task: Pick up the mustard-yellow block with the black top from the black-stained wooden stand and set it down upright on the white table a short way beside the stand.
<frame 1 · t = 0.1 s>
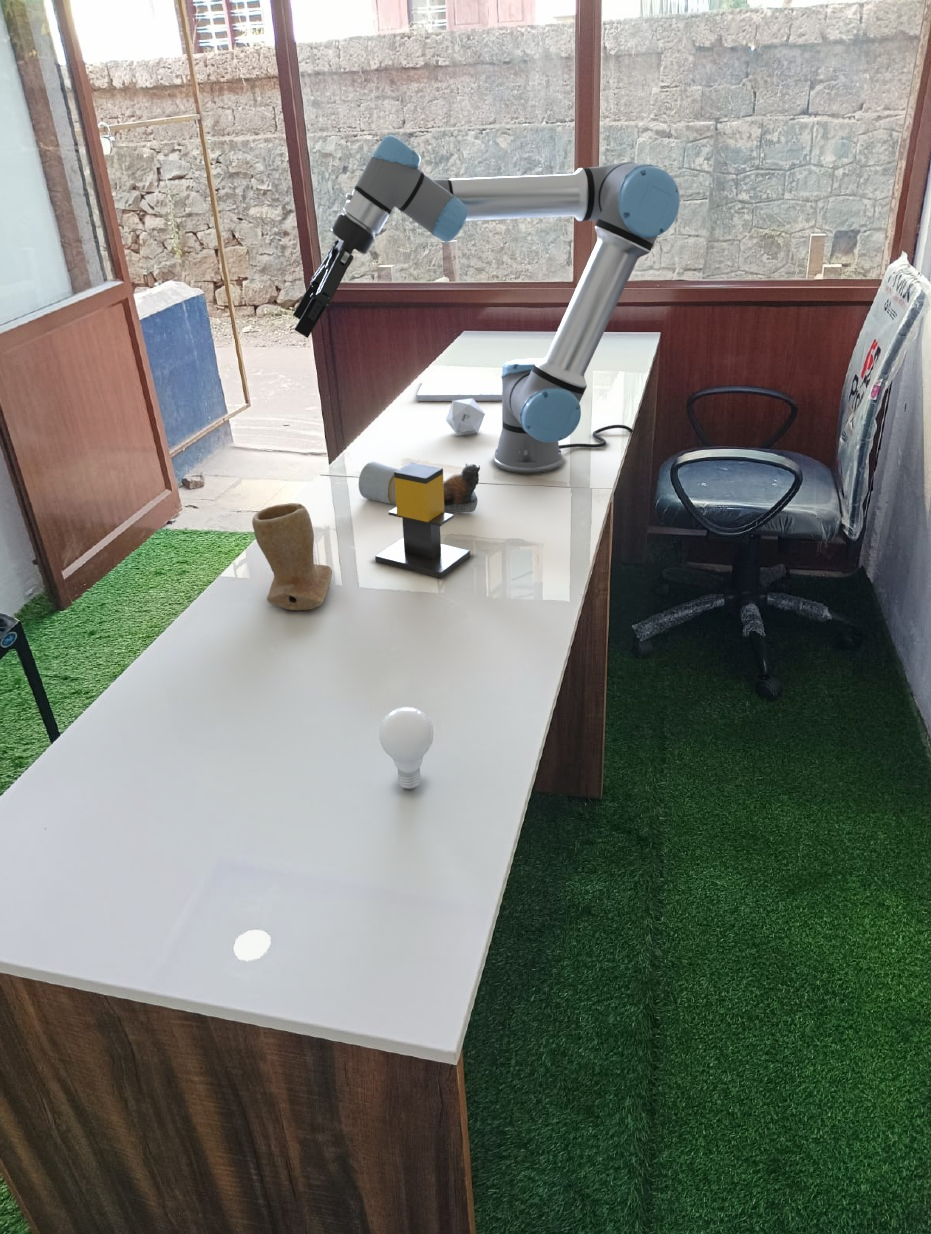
hand: (299, 326, 172), 36 cm above the table, tool tilted 35°, fingers open, 13 cm apart
computer keyboard: (495, 392, 258), on the table
block: (420, 513, 161), point 9 cm above the table, touching stand
stand: (423, 559, 166), on the table
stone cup: (296, 594, 155), on the table
brown animal-shaped figure: (452, 511, 185), on the table
die: (465, 433, 227), on the table
lightbulb: (410, 786, 111), on the table
ceramic mug: (388, 499, 191), on the table
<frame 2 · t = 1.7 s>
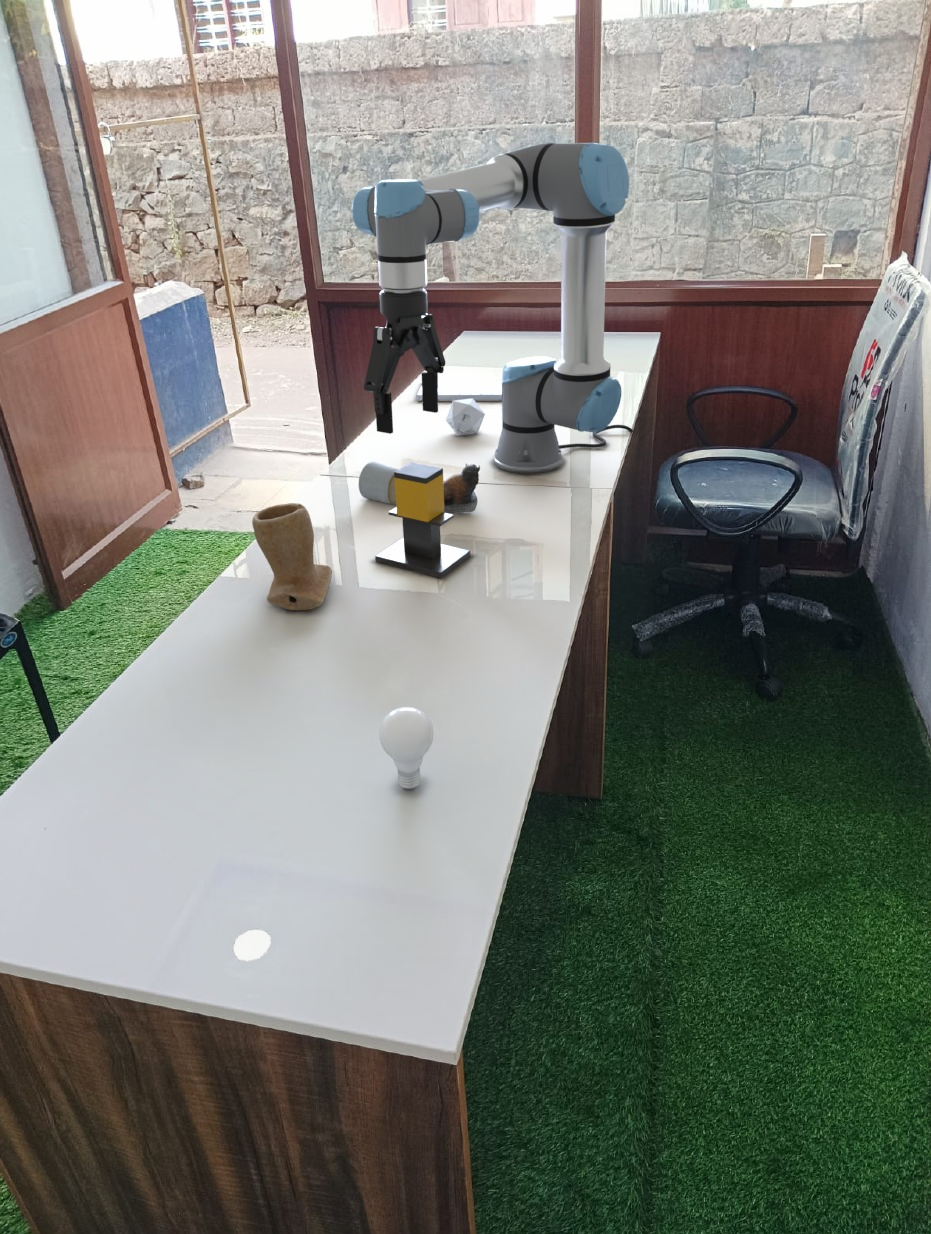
hand: (408, 421, 154), 25 cm above the table, tool pointing down, fingers open, 13 cm apart
nothing on the table moved.
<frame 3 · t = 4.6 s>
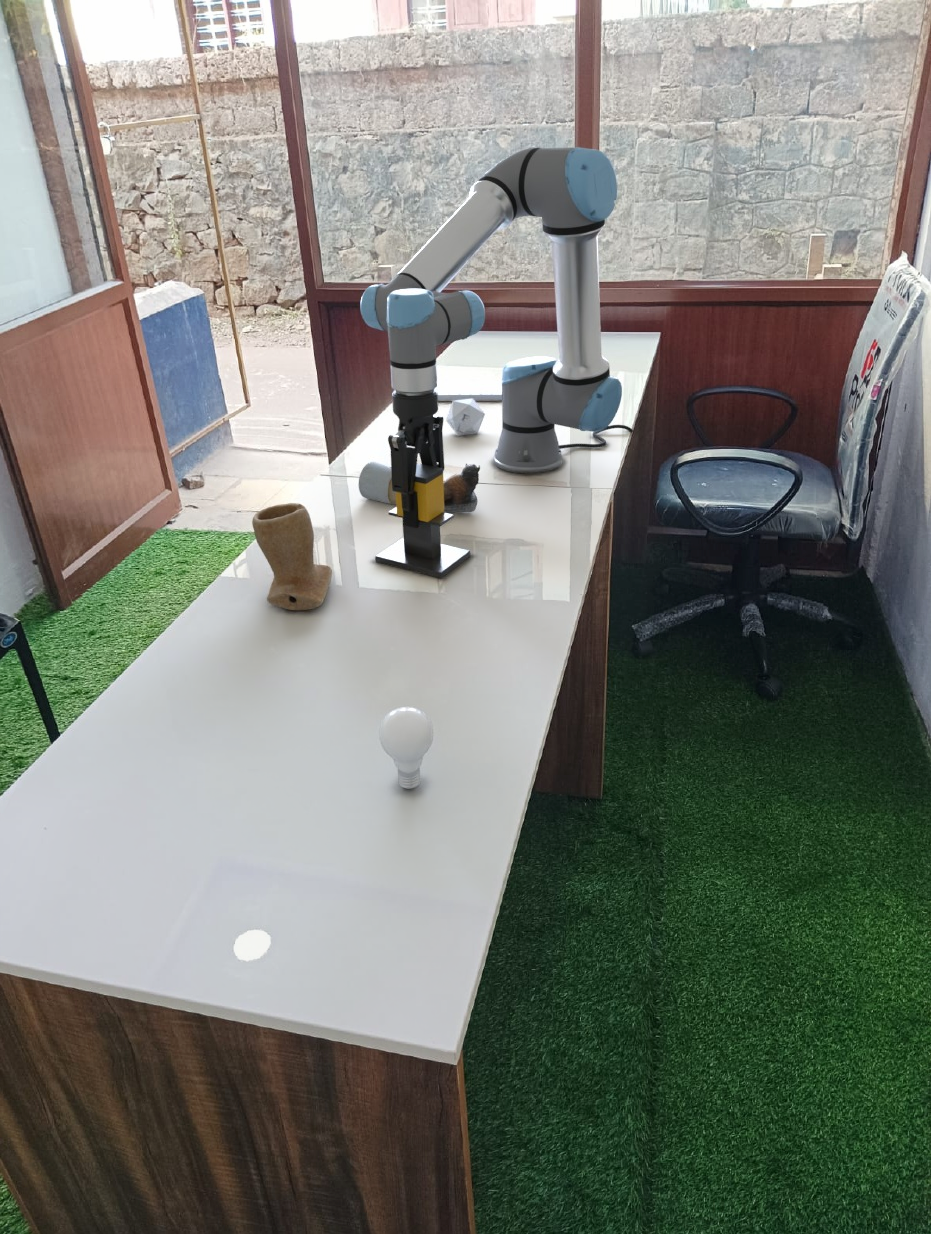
hand: (421, 519, 162), 8 cm above the table, tool pointing down, fingers closed on block, 5 cm apart
block: (420, 513, 161), point 9 cm above the table, touching gripper, stand
everything else where it was.
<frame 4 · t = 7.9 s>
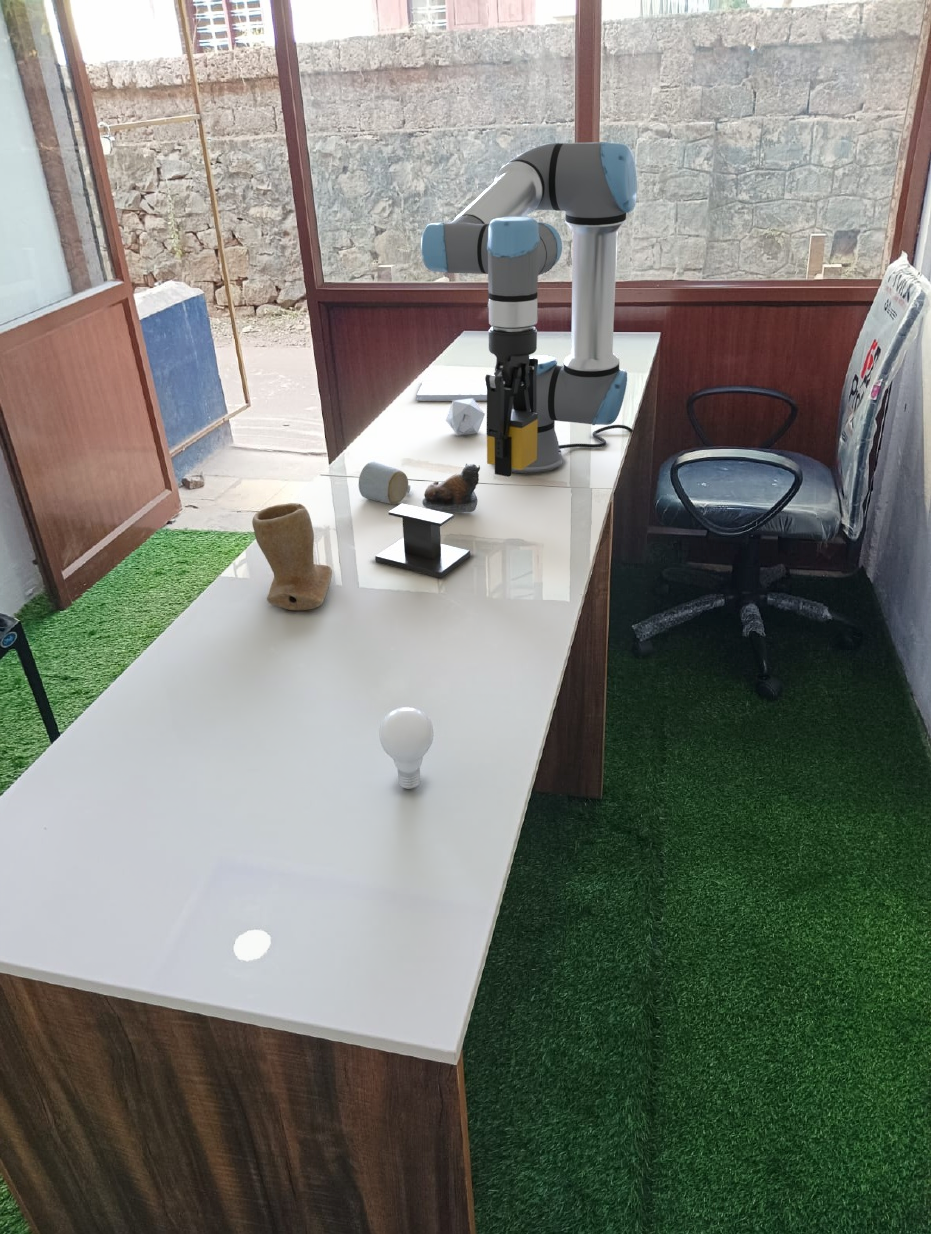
hand: (512, 468, 153), 18 cm above the table, tool pointing down, fingers closed on block, 5 cm apart
block: (512, 461, 152), point 20 cm above the table, touching gripper
everything else where it was.
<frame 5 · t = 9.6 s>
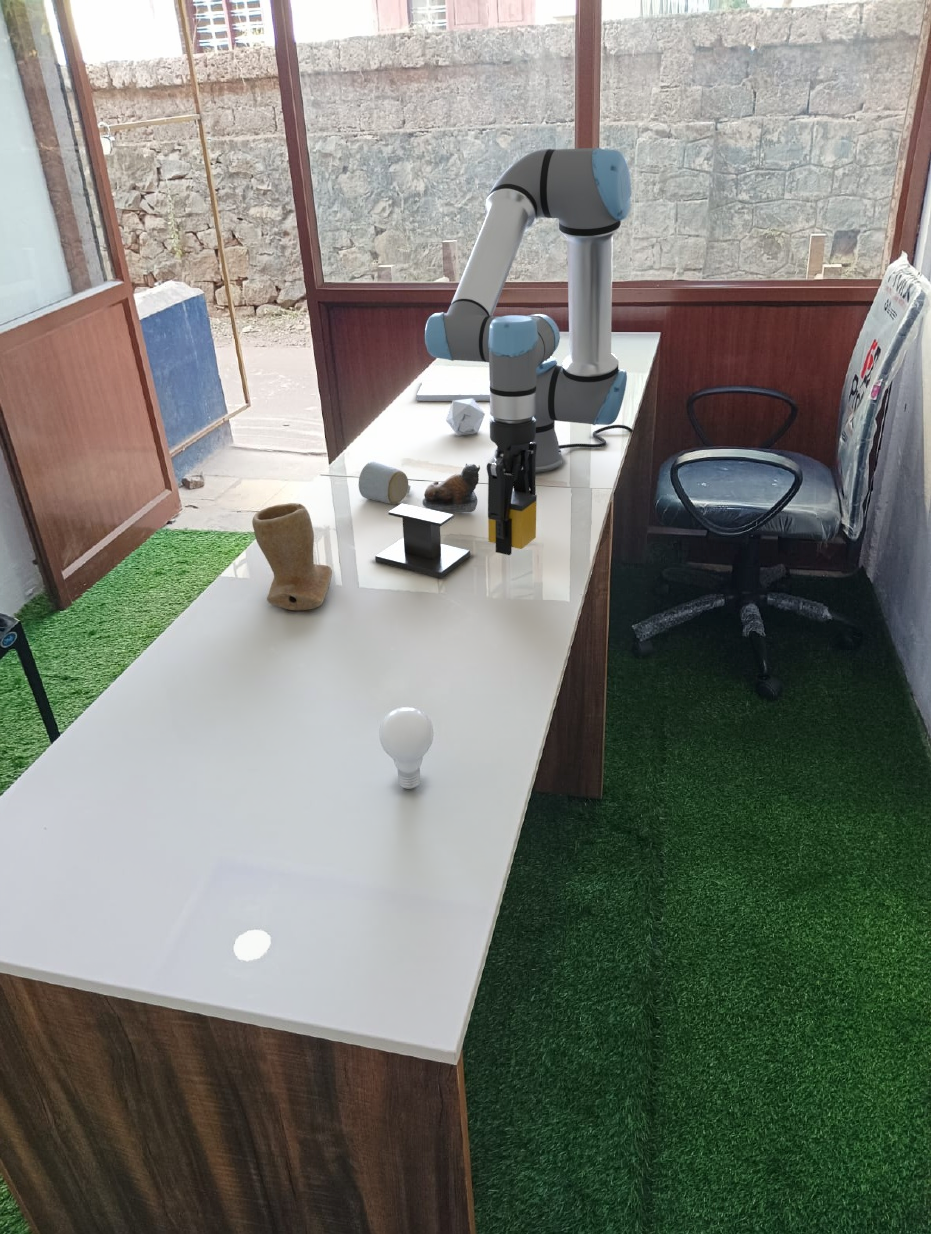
hand: (512, 546, 160), 4 cm above the table, tool pointing down, fingers closed on block, 5 cm apart
block: (512, 539, 160), point 5 cm above the table, touching gripper
everything else where it was.
when the fingers open (0 cm above the table, at t = 11.2 s): block stays where it is, on the table.
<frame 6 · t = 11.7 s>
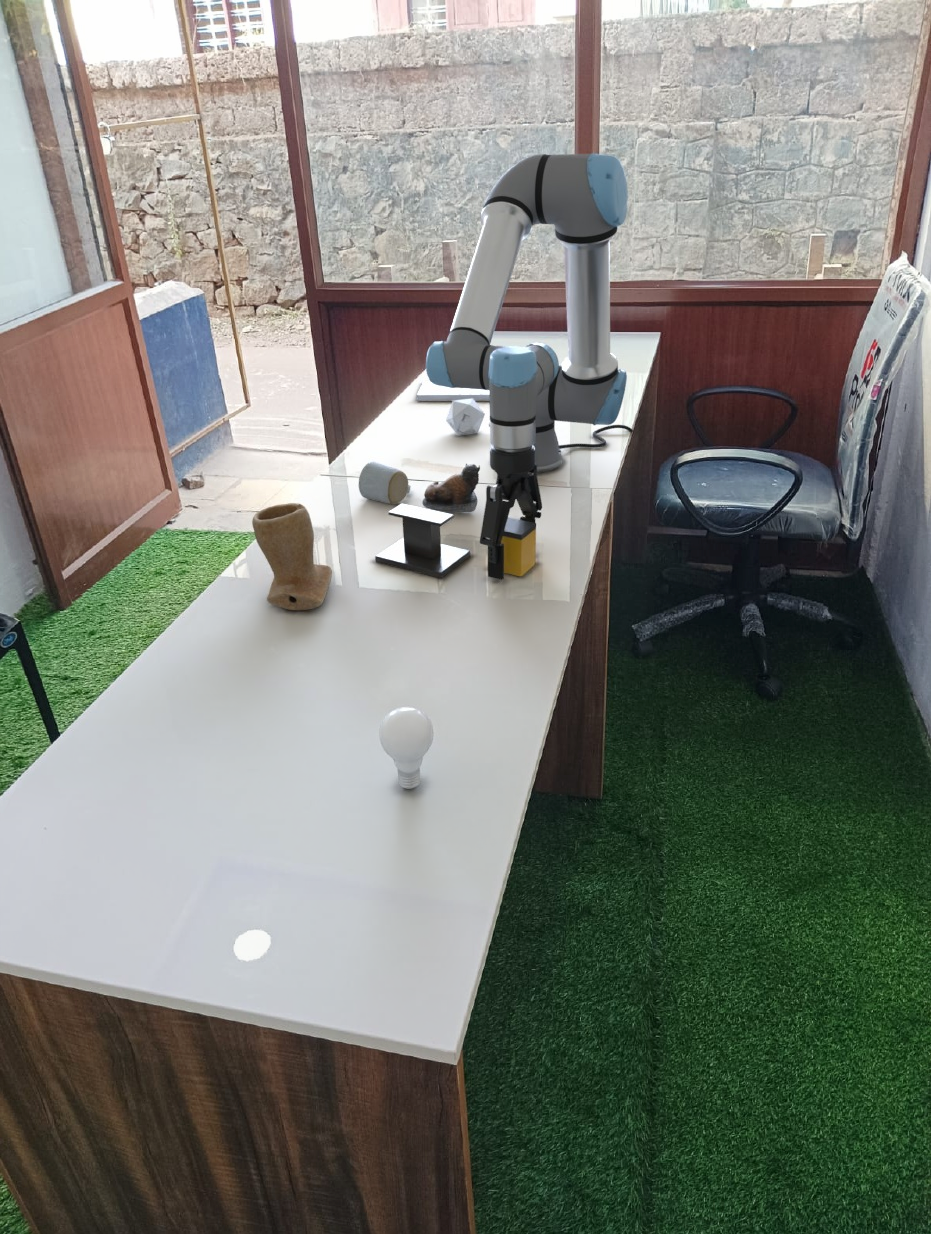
hand: (512, 564, 162), 0 cm above the table, tool pointing down, fingers open, 11 cm apart
block: (512, 566, 162), on the table
everything else where it was.
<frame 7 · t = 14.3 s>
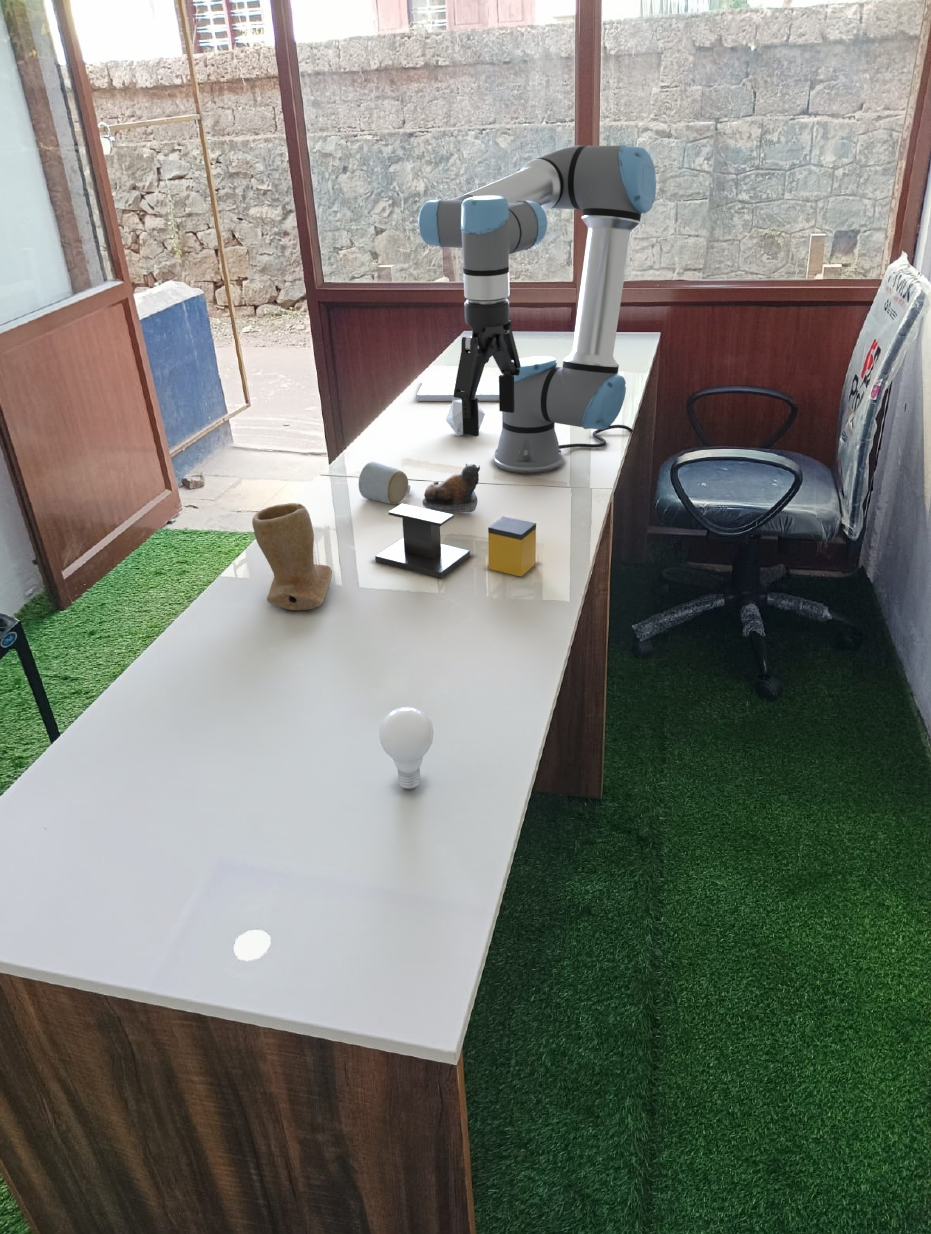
hand: (489, 423, 163), 22 cm above the table, tool pointing down, fingers open, 13 cm apart
nothing on the table moved.
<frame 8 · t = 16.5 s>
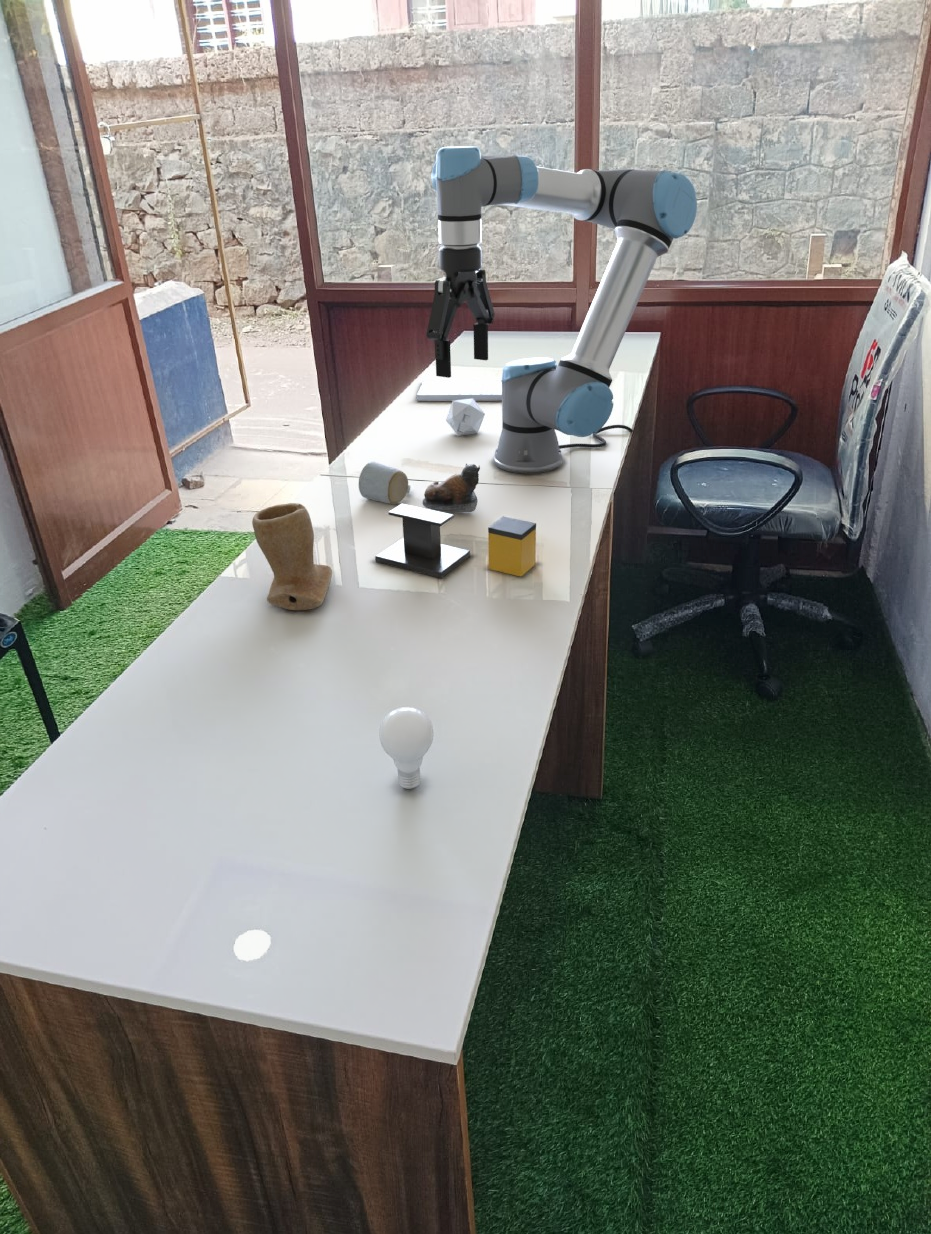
hand: (462, 367, 170), 29 cm above the table, tool pointing down, fingers open, 13 cm apart
nothing on the table moved.
at the end: block inside the target area (0.1 cm from its centre), on the table; block tilted 0°; the gripper is holding nothing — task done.
